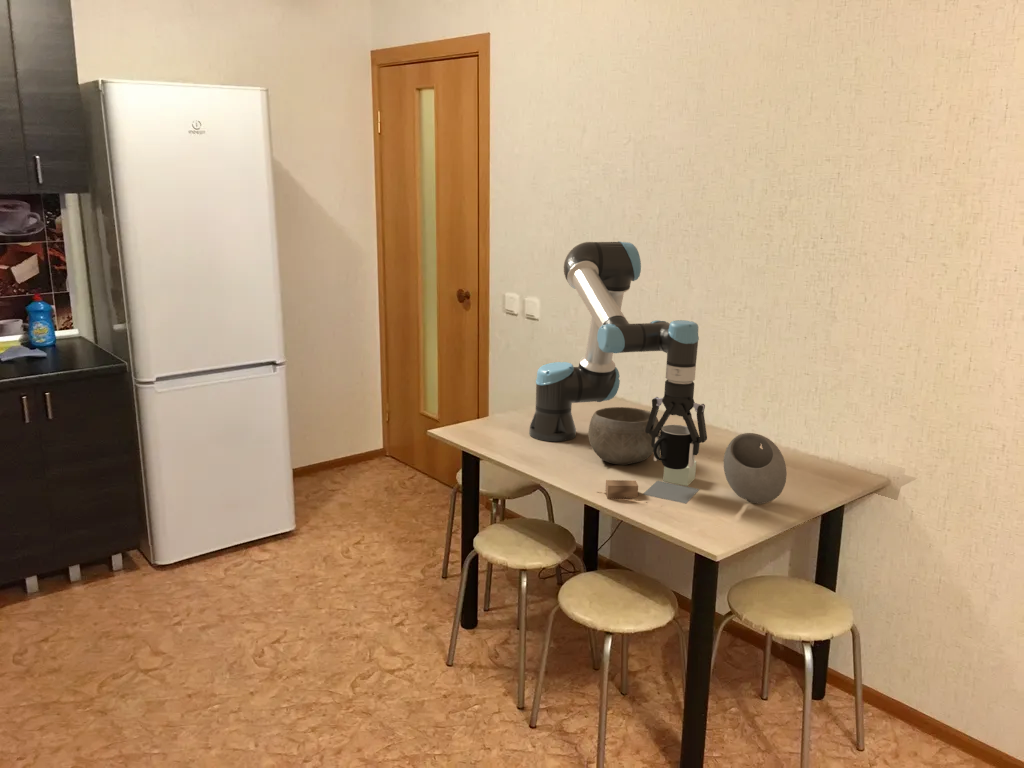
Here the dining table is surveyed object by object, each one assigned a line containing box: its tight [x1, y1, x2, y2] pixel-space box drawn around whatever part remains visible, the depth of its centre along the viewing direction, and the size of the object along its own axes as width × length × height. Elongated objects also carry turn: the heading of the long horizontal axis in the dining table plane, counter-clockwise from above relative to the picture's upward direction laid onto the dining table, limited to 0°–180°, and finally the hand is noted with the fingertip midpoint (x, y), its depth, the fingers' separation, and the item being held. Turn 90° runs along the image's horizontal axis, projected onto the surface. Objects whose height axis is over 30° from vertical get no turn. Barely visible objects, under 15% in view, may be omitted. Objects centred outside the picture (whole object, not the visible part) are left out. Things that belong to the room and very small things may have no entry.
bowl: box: [587, 406, 660, 466], centre depth 252 cm, size 21×21×15 cm
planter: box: [723, 432, 788, 504], centre depth 223 cm, size 18×7×19 cm, turn 42°
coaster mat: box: [642, 480, 700, 504], centre depth 229 cm, size 12×12×1 cm
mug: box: [652, 424, 693, 469], centre depth 226 cm, size 12×9×10 cm
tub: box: [662, 460, 697, 487], centre depth 237 cm, size 7×7×6 cm
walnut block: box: [604, 479, 639, 501], centre depth 226 cm, size 8×4×4 cm, turn 91°
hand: (673, 462), depth 226 cm, fingers closed on mug, 9 cm apart
